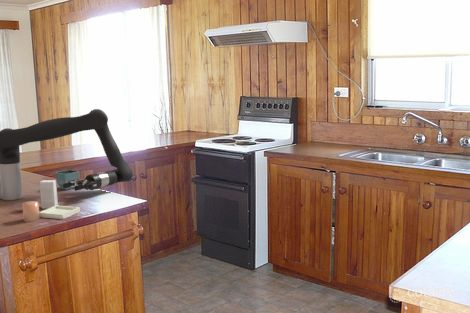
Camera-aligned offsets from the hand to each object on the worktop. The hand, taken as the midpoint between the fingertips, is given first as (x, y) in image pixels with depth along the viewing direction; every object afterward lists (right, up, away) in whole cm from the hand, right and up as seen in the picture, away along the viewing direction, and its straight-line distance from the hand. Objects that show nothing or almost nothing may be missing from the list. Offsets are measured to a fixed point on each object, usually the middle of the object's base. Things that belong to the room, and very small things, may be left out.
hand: (69, 187), depth 230 cm
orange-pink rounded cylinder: (-7, -12, -26) cm, 29 cm away
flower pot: (-10, -3, +28) cm, 29 cm away
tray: (+2, -10, -18) cm, 21 cm away
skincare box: (-6, -9, -7) cm, 13 cm away
